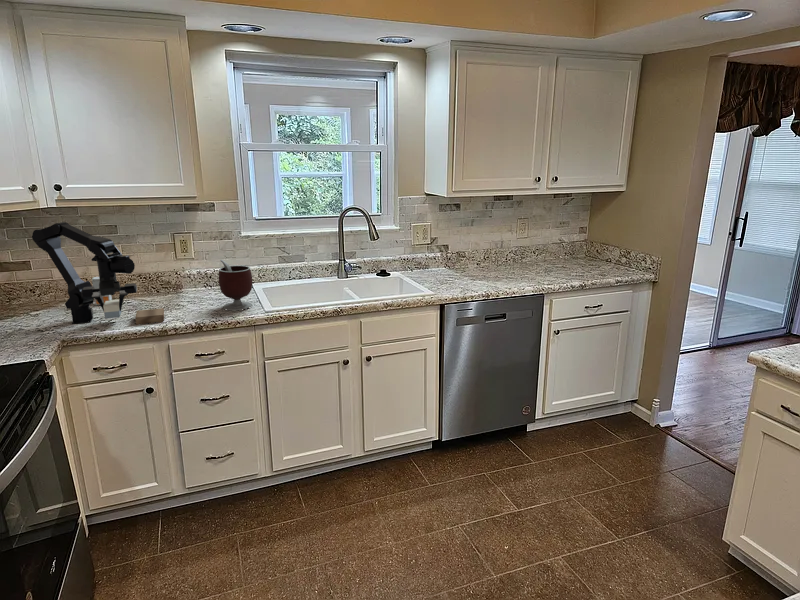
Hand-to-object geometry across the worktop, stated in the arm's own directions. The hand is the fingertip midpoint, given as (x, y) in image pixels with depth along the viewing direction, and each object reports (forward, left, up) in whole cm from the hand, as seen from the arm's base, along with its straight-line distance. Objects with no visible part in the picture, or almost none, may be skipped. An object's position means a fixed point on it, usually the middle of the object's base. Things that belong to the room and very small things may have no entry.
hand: (112, 311), depth 207 cm
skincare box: (-7, +33, -5) cm, 34 cm away
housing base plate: (0, 0, -2) cm, 2 cm away
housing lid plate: (0, 0, +1) cm, 1 cm away
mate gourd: (+47, +7, -5) cm, 48 cm away
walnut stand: (+13, 0, -5) cm, 14 cm away
